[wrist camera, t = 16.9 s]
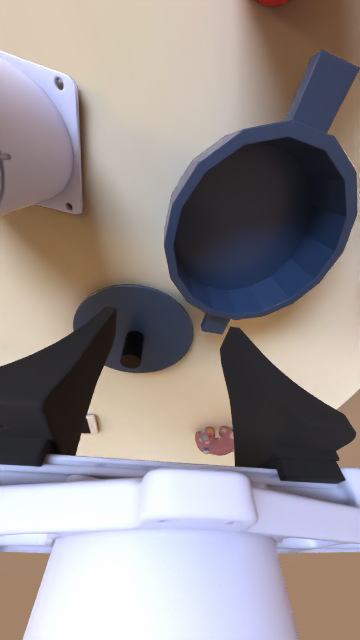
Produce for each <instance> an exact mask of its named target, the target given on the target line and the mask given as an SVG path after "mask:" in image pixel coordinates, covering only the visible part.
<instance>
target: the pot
mask: <svg viewBox="0 0 360 640" xmlns="http://www.w3.org/2000/svg"><path fill="white" fill-rule="evenodd" d="M359 69H360V68H359V67H357V66H355V65H353V64H351V63H349V62H347V61H345V60H343V59H341V58H339V57H337V56H335V55H333V54H331V53H329V52H327V51H325V50H323V49H321V50H320V51H318V52H317V53H315V54H314V55H313V56H311V58H310V60H309V63H308V65H307V68H306V70H305V73H304V75H303V77H302V80H301V82H300V85H299V87H298V90H297V92H296V94H295V97H294V99H293V102H292V104H291V107H290V109H289V111H288V114H287V116H286V119H285V121H283V122H278V123H273V124H268V125H263V126H258V127H253V128H247V129H243V130H240V131H237V132H234V133H232V134H229V135H226V136H224V137H223V138H221V139H220V140H219V141H217V142H216V143H215V144H213V145H212V146H211V147H209V148H208V149H206V150H205V151H204V152H203V153H201V154H200V155H199V156H197V157H196V158H195V159H193V160H192V162H191V163H190V165H189V166H188V168H187V170H186V171H185V173H184V174H183V176H182V177H181V179H180V181H179V183H178V184H177V186H176V188H175V189H174V191H173V193H172V195H171V199H170V204H169V209H168V214H167V220H166V225H165V236H164V248H165V253H166V258H167V263H168V269H169V274H170V278H171V280H172V281H173V283H174V284H175V285H176V287H177V288H178V290H179V291H180V293H181V294H182V295H183V297H184V298H185V300H186V301H187V302H188V303H190V304H192V305H193V306H195V307H197V308H198V309H200V310H202V311H203V312H205V313H206V314H205V316H204V318H203V321H202V323H201V330H202V331H204V332H210V333H216V334H223V332H224V330H225V328H226V326H227V324H228V322H229V321H230V319H233V320H240V319H247V318H254V317H261V316H265V315H268V314H270V313H272V312H275V311H277V310H279V309H282V308H284V307H286V306H288V305H291V304H293V303H294V302H295V301H297V300H298V299H299V298H301V297H302V296H303V295H304V294H306V293H307V292H308V291H310V290H311V289H312V288H313V287H315V286H316V285H317V284H318V283H320V281H321V280H322V279H323V278H324V276H325V275H326V274H327V272H328V271H329V270H330V268H331V267H332V266H333V264H334V263H335V262H336V261H337V259H338V258H339V257H340V255H341V254H342V253H343V251H344V248H345V246H346V243H347V240H348V238H349V235H350V232H351V229H352V227H353V224H354V221H355V219H356V216H357V176H356V171H355V169H354V167H353V166H352V164H351V162H350V161H349V159H348V158H347V156H346V154H345V153H344V151H343V149H342V148H341V146H340V144H339V143H338V141H337V140H336V138H335V137H334V136H332V135H330V134H328V133H327V131H328V129H329V127H330V125H331V123H332V121H333V119H334V117H335V116H336V114H337V112H338V110H339V108H340V106H341V104H342V102H343V100H344V98H345V96H346V94H347V92H348V90H349V88H350V87H351V85H352V83H353V81H354V79H355V77H356V75H357V73H358V71H359Z"/></svg>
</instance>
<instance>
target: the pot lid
mask: <svg viewBox="0 0 360 640" xmlns="http://www.w3.org/2000/svg"><path fill="white" fill-rule="evenodd" d="M106 306H109V307H115V308H117V315H116V335H115V339H114V342H113V345H112V348H111V351H110V353H109V355H108V358H107V360H106V362H105V366H107V367H110V368H113V369H116V370H119V371H124V372H131V373H147V372H154V371H158V370H162V369H165V368H167V367H169V366H171V365H173V364H175V363H176V362H178V361H179V360H180V359H182V358H183V356H184V355H185V354H186V353H187V352H188V350H189V348H190V346H191V343H192V340H193V327H192V323H191V320H190V318H189V315H188V314H187V312H186V311H185V309H184V308H183V307H182V306H181V305H180V304H179V303H178V302H177V301H176V300H175V299H173V298H172V297H170V296H169V295H167V294H165V293H163V292H161V291H159V290H156V289H154V288H150V287H146V286H141V285H133V284H123V285H114V286H110V287H106V288H103V289H101V290H98V291H96V292H95V293H93V294H91V295H90V296H89V297H87V298H86V299H85V300H84V301H83V302H82V303H81V305H80V306H79V308H78V309H77V311H76V314H75V316H74V322H73V329H74V331H75V330H77V329H78V328H79V327H81V326H82V325H84V324H85V323H86V322H87V321H89V320H90V319H91V318H92V317H94V316H95V315H96V314H97V313H98V312H100V311H101V310H102V309H103V308H104V307H106Z"/></svg>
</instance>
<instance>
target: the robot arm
mask: <svg viewBox="0 0 360 640" xmlns="http://www.w3.org/2000/svg"><path fill="white" fill-rule="evenodd" d="M59 79H61V80H62V81H63V84H64V87H63V89H62V90H60V89H59V88H58V85H57V81H58V80H59ZM68 203H70V204H71V205H72V209H70V208H69V207H68V205H67V204H68ZM32 204H35V205H39V206H43V207H47V208H51V209H55V210H60V211H64V212H68V213H72V214H76V215H79V214H81V213H82V212H83V196H82V172H81V148H80V124H79V100H78V88H77V85H76V83H75V81H74V80H73V79H72V78H71V77H70V76H68V75H66V74H63V73H60V72H57V71H55V70H52V69H49V68H46V67H44V66H41V65H38V64H35V63H32V62H30V61H27V60H24V59H21V58H19V57H16V56H13V55H10V54H8V53H5V52H2V51H0V216H2V215H4V214H7V213H10V212H13V211H16V210H18V209H21V208H24V207H27V206H30V205H32ZM116 315H117V308H115V307H109V306H106V307H104V308H103V309H102V310H101V311H100V312H98V313H97V314H96V315H95V316H94V317H92V318H91V319H90V320H89V321H87V322H86V323H85V324H84V325H82V326H81V327H79V328H78V329H77V330H75V331H74V332H72V333H71V334H69V335H68V336H66V337H65V338H63V339H61V340H60V341H58V342H56V343H54V344H52V345H50V346H48V347H46V348H44V349H42V350H40V351H38V352H36V353H34V354H32V355H29V356H27V357H25V358H22V359H20V360H17V361H15V362H12V363H9V364H7V365H4V366H1V367H0V551H6V552H33V553H51V555H50V558H49V561H48V564H47V567H46V570H45V573H44V576H43V579H42V583H41V585H40V589H39V592H38V595H37V598H36V601H35V604H34V607H33V610H32V613H31V616H30V619H29V623H28V625H27V628H26V632H25V635H24V638H23V640H299V637H298V633H297V629H296V625H295V621H294V617H293V613H292V610H291V606H290V602H289V598H288V594H287V591H286V586H285V583H284V579H283V575H282V571H281V567H280V563H279V559H278V555H277V553H314V552H360V468H354V467H343V468H339V466H338V464H337V462H336V461H339V457H338V455H337V453H336V451H337V450H339V449H340V448H342V447H344V446H345V445H347V444H349V443H350V442H351V441H353V440H354V438H355V436H356V432H355V430H354V429H353V427H352V425H351V424H350V422H349V421H348V419H347V418H346V416H345V415H344V414H342V413H341V412H339V411H337V410H336V409H334V408H332V407H330V406H329V405H327V404H325V403H324V402H322V401H320V400H319V399H317V398H316V397H314V396H313V395H311V394H310V393H308V392H307V391H306V390H304V389H303V388H301V387H300V386H299V385H297V384H296V383H295V382H293V381H292V380H291V379H290V378H288V377H287V376H286V375H285V374H284V373H282V372H281V371H280V370H279V369H278V368H277V367H276V366H275V365H273V364H272V363H271V362H270V361H269V360H268V359H267V358H266V357H265V356H264V355H263V353H262V352H261V351H260V350H259V349H258V348H257V347H256V346H255V345H254V344H253V343H252V341H251V340H250V339H249V338H248V337H247V336H246V335H245V333H244V332H243V331H242V330H241V329H240V328H237V327H231V326H230V328H229V330H228V333H227V335H226V337H225V339H224V341H223V343H222V345H221V348H220V355H221V364H222V368H223V373H224V377H225V381H226V385H227V390H228V394H229V399H230V407H231V415H232V425H233V437H234V454H235V467H234V466H219V465H205V464H190V463H175V462H160V461H145V460H130V459H115V458H100V457H85V456H75V455H76V451H77V447H78V444H79V440H80V436H81V433H82V429H83V426H84V422H85V419H86V415H87V412H88V409H89V405H90V402H91V399H92V396H93V393H94V389H95V386H96V384H97V381H98V378H99V376H100V374H101V371H102V369H103V367H104V365H105V362H106V360H107V358H108V355H109V353H110V351H111V348H112V345H113V342H114V339H115V335H116Z"/></svg>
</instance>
